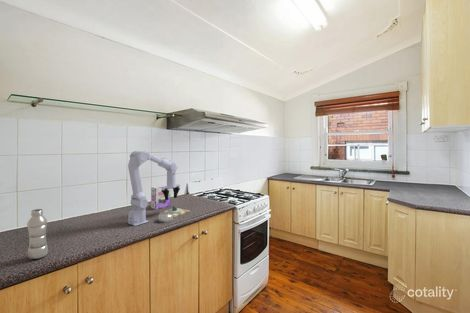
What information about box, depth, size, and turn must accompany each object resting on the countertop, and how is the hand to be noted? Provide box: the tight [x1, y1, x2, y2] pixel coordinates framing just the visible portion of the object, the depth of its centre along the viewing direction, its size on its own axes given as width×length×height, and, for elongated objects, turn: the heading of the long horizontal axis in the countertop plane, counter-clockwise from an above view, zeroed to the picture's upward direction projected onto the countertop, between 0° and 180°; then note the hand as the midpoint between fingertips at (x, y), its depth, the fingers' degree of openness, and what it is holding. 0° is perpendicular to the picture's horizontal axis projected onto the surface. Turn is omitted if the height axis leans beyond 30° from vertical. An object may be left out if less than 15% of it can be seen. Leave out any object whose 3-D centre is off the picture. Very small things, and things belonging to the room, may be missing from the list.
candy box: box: [150, 184, 171, 211], centre depth 173 cm, size 14×6×16 cm, turn 143°
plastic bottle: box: [26, 208, 49, 260], centre depth 94 cm, size 6×7×20 cm
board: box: [158, 207, 191, 218], centre depth 159 cm, size 16×14×1 cm
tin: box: [157, 212, 174, 224], centre depth 143 cm, size 9×9×4 cm
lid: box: [167, 205, 182, 214], centre depth 159 cm, size 10×10×4 cm
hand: (171, 198), depth 158 cm, fingers open, 7 cm apart
